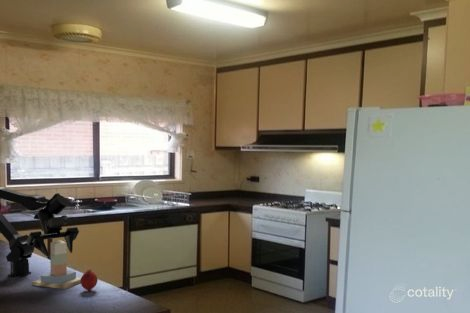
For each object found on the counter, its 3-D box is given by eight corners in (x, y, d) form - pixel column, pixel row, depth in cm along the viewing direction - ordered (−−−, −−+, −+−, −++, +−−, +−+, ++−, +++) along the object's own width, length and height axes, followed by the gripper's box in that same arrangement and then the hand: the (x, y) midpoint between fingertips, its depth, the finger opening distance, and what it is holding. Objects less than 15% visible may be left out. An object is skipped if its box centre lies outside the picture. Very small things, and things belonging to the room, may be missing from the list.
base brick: (40, 281, 177) (40, 275, 177) (56, 275, 185) (56, 269, 185) (60, 284, 174) (60, 277, 174) (76, 277, 182) (75, 271, 182)
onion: (92, 293, 167) (92, 271, 166) (77, 292, 168) (77, 270, 168) (100, 288, 172) (100, 267, 172) (85, 287, 173) (85, 266, 173)
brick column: (50, 273, 180) (50, 240, 179) (61, 271, 183) (61, 238, 182) (55, 275, 176) (55, 242, 176) (66, 273, 179) (66, 240, 179)
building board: (32, 285, 177) (32, 281, 177) (52, 277, 187) (52, 274, 187) (65, 288, 172) (65, 285, 172) (84, 280, 182) (84, 277, 182)
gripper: (29, 211, 176) (40, 244, 168) (76, 206, 188) (89, 238, 181) (22, 229, 181) (32, 262, 174) (68, 223, 194) (80, 254, 187)
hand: (59, 254), depth 178 cm, fingers open, 9 cm apart
